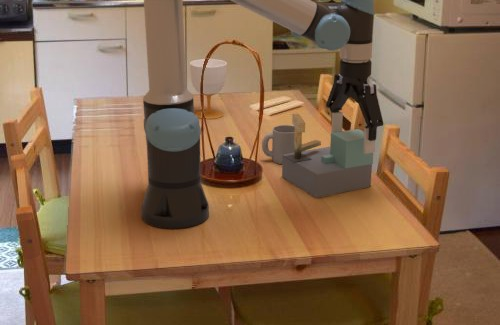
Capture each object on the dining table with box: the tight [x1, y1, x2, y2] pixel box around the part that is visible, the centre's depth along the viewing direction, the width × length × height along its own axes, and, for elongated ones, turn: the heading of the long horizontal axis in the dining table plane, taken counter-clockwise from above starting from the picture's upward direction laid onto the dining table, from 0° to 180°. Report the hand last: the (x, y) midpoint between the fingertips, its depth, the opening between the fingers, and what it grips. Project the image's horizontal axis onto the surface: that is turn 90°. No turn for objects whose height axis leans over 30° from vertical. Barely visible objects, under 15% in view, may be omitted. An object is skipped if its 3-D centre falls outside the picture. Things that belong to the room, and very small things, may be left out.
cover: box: [321, 128, 374, 169], centre depth 198 cm, size 10×7×7 cm, turn 117°
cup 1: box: [189, 58, 228, 120], centre depth 256 cm, size 12×12×17 cm
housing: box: [281, 146, 373, 199], centre depth 202 cm, size 16×16×6 cm
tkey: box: [291, 113, 322, 158], centre depth 201 cm, size 10×8×10 cm
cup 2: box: [261, 124, 295, 165], centre depth 217 cm, size 7×10×9 cm
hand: (352, 144), depth 198 cm, fingers open, 13 cm apart
